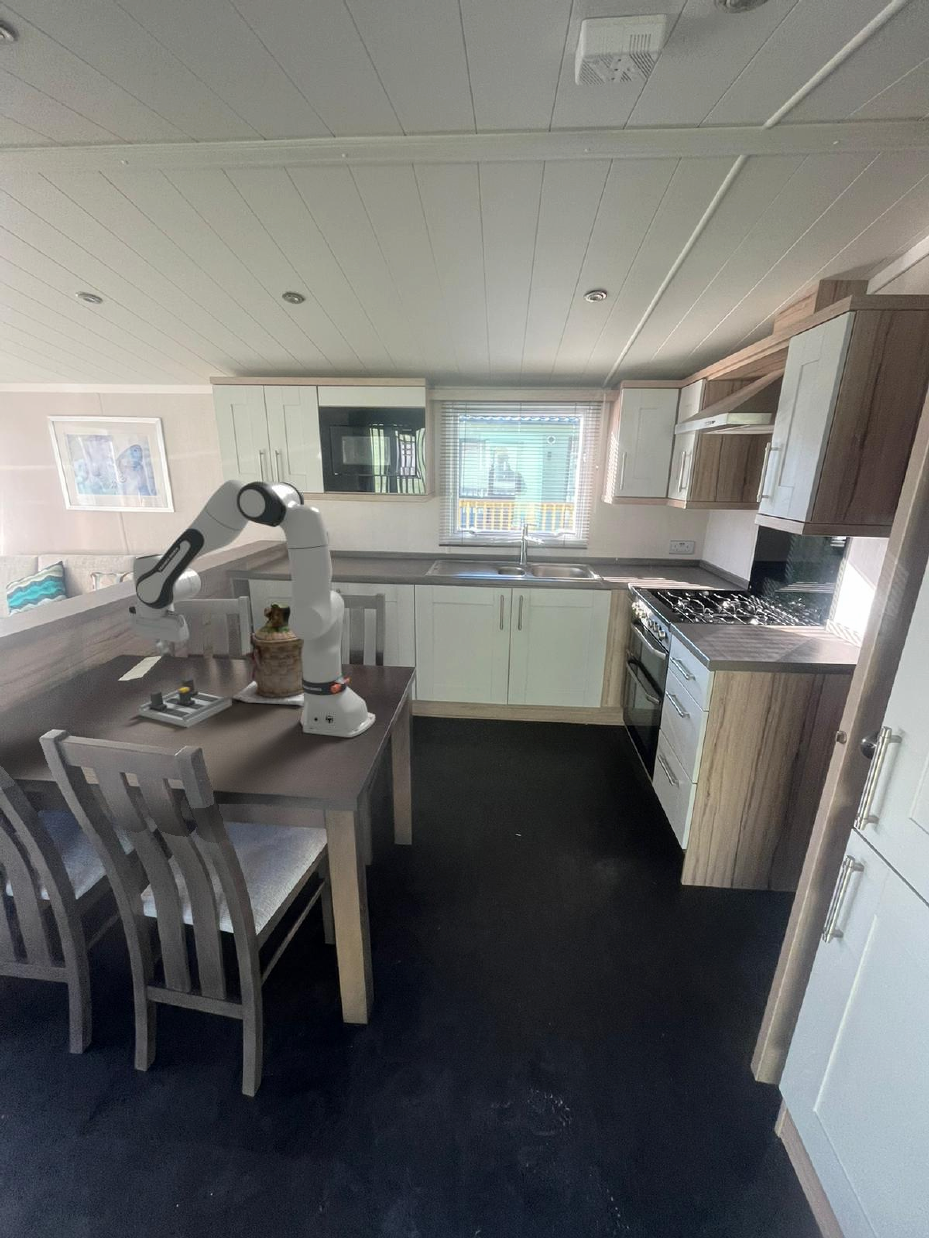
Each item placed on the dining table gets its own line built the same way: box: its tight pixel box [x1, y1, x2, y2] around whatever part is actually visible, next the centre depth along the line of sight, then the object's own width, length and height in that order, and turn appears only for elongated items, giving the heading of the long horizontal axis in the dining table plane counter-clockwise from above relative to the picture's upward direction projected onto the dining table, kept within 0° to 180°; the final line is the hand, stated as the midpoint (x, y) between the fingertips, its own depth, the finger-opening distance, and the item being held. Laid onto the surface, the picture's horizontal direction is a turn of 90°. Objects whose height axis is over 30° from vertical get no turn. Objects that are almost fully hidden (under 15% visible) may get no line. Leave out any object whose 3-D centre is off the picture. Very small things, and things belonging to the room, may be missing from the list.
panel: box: [138, 689, 233, 728], centre depth 148 cm, size 20×16×3 cm
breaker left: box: [149, 690, 167, 710], centre depth 143 cm, size 5×2×5 cm, turn 69°
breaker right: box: [182, 677, 199, 696], centre depth 153 cm, size 5×2×5 cm, turn 69°
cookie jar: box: [231, 602, 304, 707], centre depth 160 cm, size 25×25×32 cm
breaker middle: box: [177, 687, 195, 706], centre depth 147 cm, size 5×2×5 cm, turn 69°
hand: (163, 651), depth 145 cm, fingers closed
